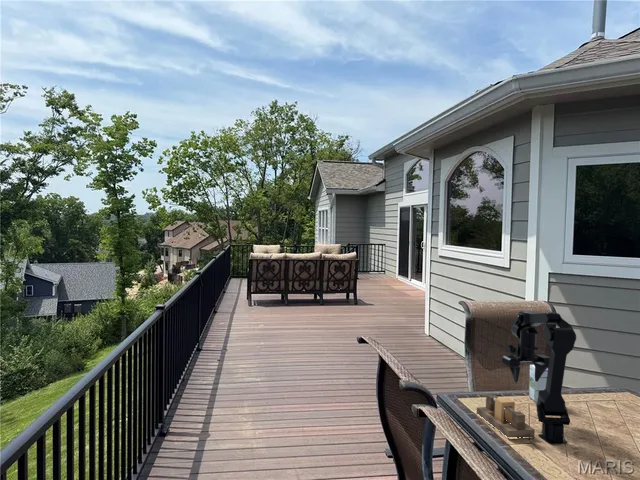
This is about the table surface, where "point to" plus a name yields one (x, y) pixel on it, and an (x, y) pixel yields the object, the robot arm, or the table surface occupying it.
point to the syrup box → (536, 383)
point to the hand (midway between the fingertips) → (526, 381)
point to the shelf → (510, 430)
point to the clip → (499, 409)
